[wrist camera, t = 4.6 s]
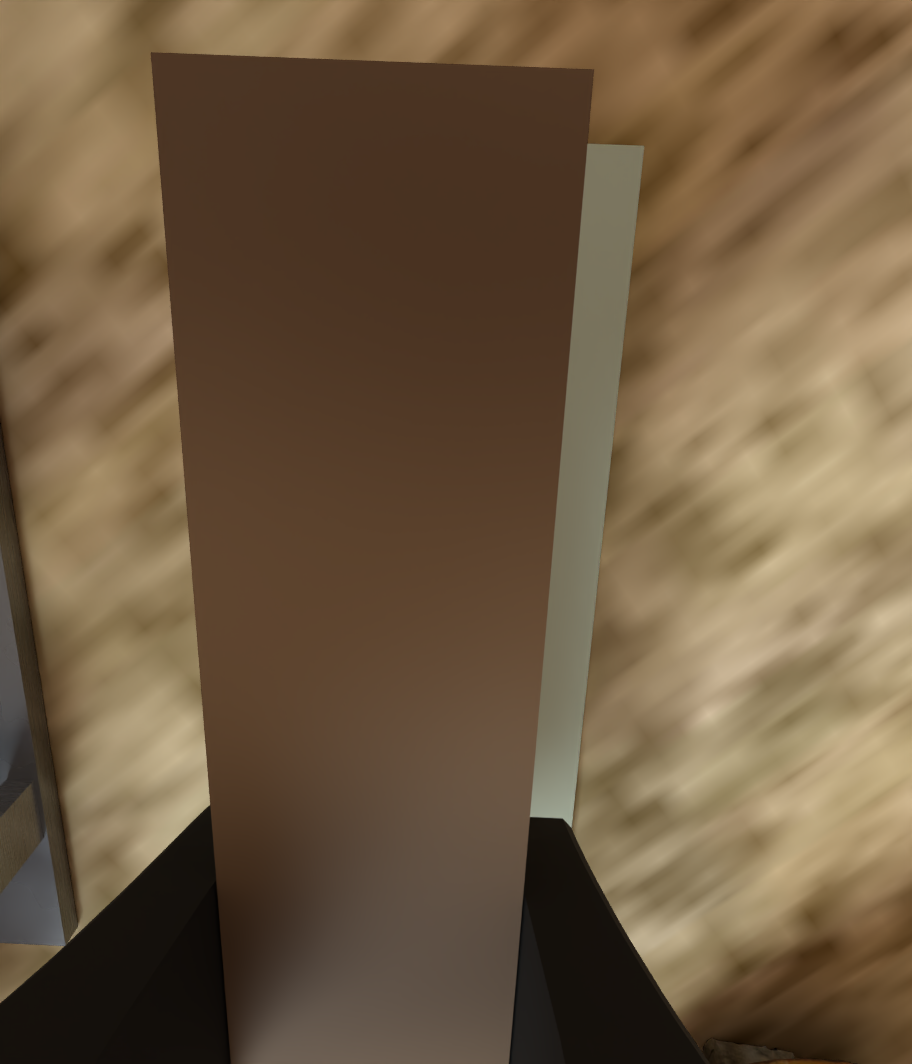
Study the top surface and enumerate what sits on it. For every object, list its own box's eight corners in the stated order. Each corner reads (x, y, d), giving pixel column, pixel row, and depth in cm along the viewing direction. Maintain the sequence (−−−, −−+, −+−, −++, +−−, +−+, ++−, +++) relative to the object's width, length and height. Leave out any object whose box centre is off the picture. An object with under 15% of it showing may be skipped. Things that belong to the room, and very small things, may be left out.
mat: (555, 948, 19) (557, 962, 18) (276, 935, 19) (272, 948, 18) (638, 149, 13) (643, 145, 13) (238, 133, 13) (230, 129, 13)
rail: (474, 1212, 12) (474, 1464, 10) (307, 1203, 12) (261, 1453, 10) (550, 145, 7) (592, 68, 5) (266, 135, 7) (150, 51, 5)
